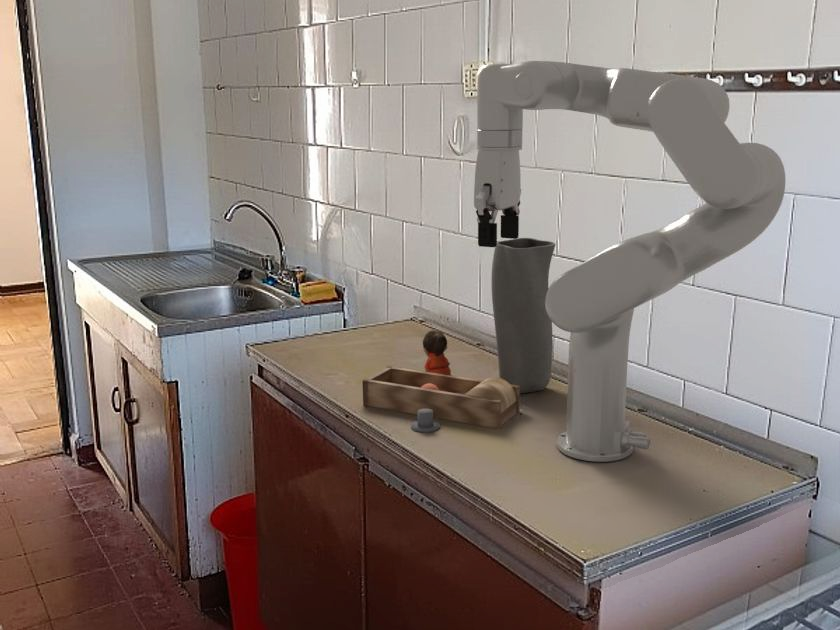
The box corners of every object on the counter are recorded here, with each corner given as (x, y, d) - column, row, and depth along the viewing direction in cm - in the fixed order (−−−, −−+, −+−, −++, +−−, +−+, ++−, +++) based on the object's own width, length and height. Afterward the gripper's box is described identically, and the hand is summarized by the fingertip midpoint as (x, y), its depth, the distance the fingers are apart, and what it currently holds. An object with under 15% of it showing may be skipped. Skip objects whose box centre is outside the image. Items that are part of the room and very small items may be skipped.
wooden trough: (519, 418, 163) (519, 378, 161) (498, 437, 155) (499, 394, 153) (389, 397, 176) (388, 359, 174) (363, 412, 167) (362, 373, 165)
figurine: (458, 386, 177) (458, 330, 174) (440, 393, 173) (439, 335, 170) (435, 380, 181) (435, 325, 178) (417, 386, 177) (416, 330, 174)
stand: (444, 424, 156) (444, 408, 156) (431, 434, 152) (431, 418, 151) (419, 420, 159) (419, 404, 158) (405, 429, 154) (405, 413, 154)
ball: (426, 400, 168) (423, 381, 168) (444, 400, 166) (441, 380, 166) (417, 407, 165) (413, 387, 164) (435, 407, 163) (432, 386, 162)
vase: (506, 402, 167) (508, 249, 160) (482, 383, 179) (482, 240, 171) (563, 395, 171) (567, 245, 164) (535, 376, 182) (538, 236, 175)
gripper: (499, 138, 153) (498, 233, 157) (457, 143, 138) (457, 248, 143) (539, 138, 150) (537, 236, 154) (500, 143, 135) (499, 251, 139)
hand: (498, 242), depth 148 cm, fingers open, 9 cm apart
